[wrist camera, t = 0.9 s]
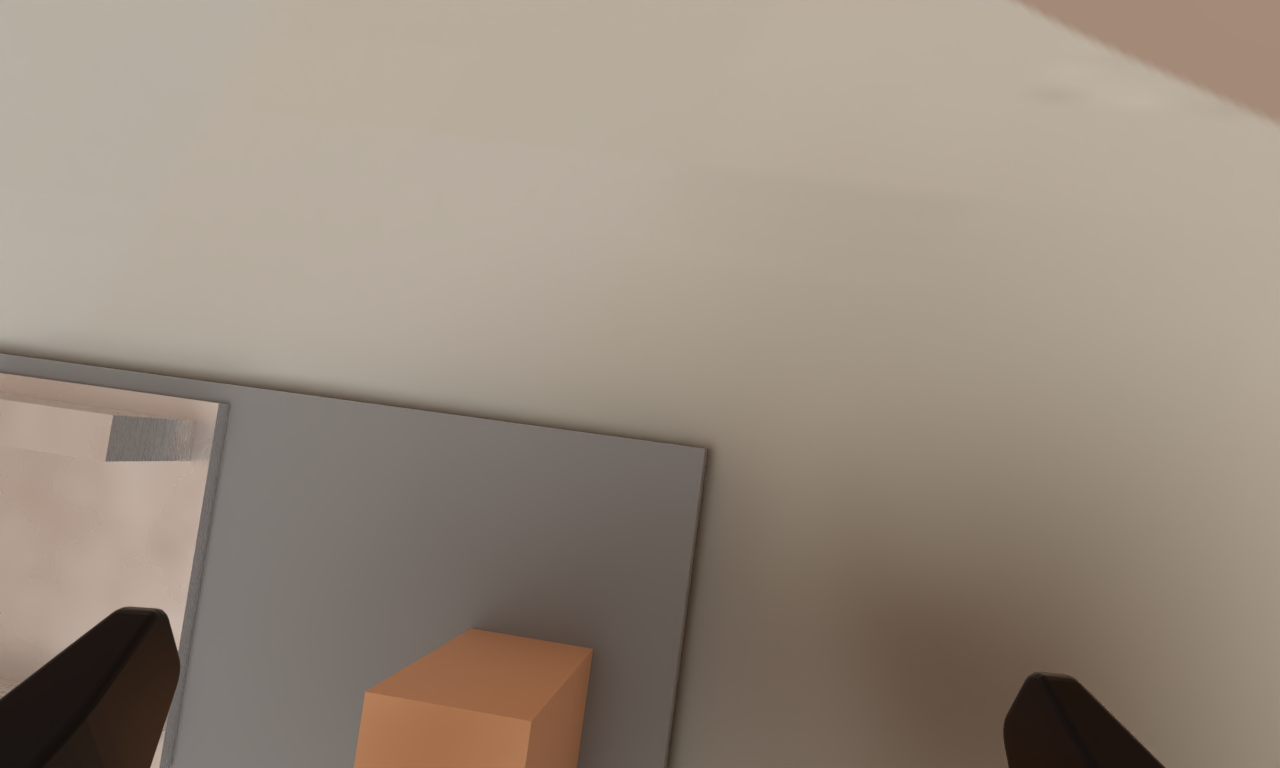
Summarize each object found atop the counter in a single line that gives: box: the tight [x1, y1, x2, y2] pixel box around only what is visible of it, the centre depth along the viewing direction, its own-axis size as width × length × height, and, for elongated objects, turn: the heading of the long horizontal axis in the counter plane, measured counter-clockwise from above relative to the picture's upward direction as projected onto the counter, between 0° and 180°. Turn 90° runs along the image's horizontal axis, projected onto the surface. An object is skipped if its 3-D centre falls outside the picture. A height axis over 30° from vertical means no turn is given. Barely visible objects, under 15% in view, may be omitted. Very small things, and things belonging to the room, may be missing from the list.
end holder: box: [0, 373, 230, 768], centre depth 22 cm, size 9×7×4 cm
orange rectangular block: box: [354, 628, 593, 768], centre depth 19 cm, size 4×3×6 cm
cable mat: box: [0, 353, 708, 768], centre depth 23 cm, size 12×20×1 cm, turn 83°
